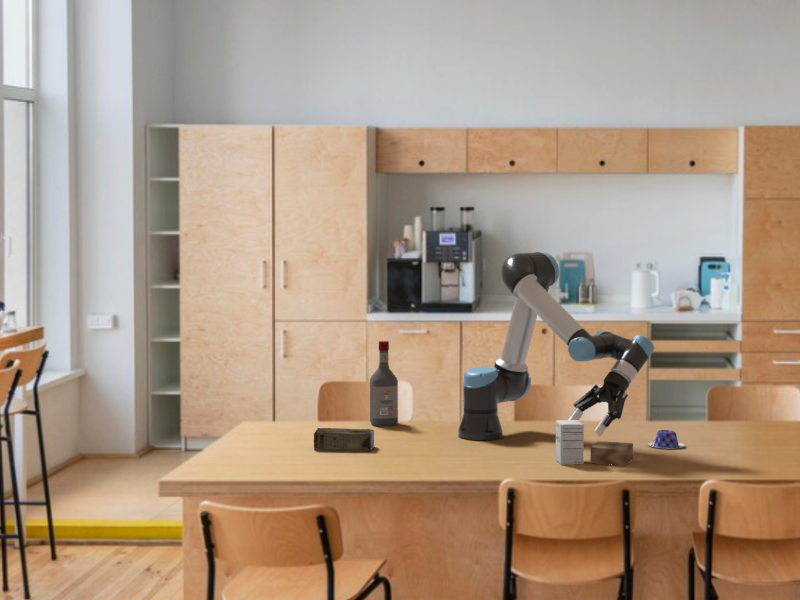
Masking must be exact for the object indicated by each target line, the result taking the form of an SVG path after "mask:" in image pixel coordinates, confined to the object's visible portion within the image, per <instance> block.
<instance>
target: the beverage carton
mask: <svg viewBox="0 0 800 600" xmlns="http://www.w3.org/2000/svg"><path fill="white" fill-rule="evenodd" d="M374 447H375V430H374V429H372V428H361V429H360V428H336V427H332V428H331V427H317V429H316V430H315V431H314V433H313V450H314V451H338V452H339V451H341V452H344V451H346V452H347V451H349V452H350V451H351V452H372V450H373V449H374Z"/></svg>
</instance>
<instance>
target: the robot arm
mask: <svg viewBox="0 0 800 600" xmlns="http://www.w3.org/2000/svg"><path fill="white" fill-rule="evenodd" d="M500 273H501V275H500V276H501V279H502V282H503V284H504V286H505V287H506V289H508V290H509V292H510V293H511V294H512V295H513V296H514V297H515V300H514V302H513V303H514V304H513V308H512V312H511V315H510V320H509V324H508V329H507V332H506V337H505V340H504V344H503V348H502V352H501V356H500V357H498V358H496V359H495V361H494V366H490V365H489V366H488V365H487V366H486V365H481V366H475V367H471V368H468V369H467V370H465V371H464V374H463V381H462V384H463V385H462V389H463V391H462V392H463V393H462V395H463V397H462V398H463V400H462V401H463V403H462V404H463V406H462V407H463V411H462V412H463V414H462V417H461V421H460V423H459V425H458V431H457V433H458V437H459V438H461V439H464V440H470V441H471V440H472V441H473V440H474V441H491V440H499V439H501V438H503V433H504V432H503V427H502V424H501V421H500V419H499V415H498V414H499V413H498V404H500V403H506V402H514V401H517V400H521V399H522V398H524V397H526V395H527V394H528V393H529V391H530V388H531V384H532V379H531V377H530V372H529V367H528V365H527V357H528V353H529V349H530V345H531V341H532V338H533V333H534V330H535V325H536V321H537V319H538V318H537V317H539V318H540V319H541V320H542V322H544V323H545V324H546V325H547V326H548V327H549V328H550V329H551V331H553V332H554V333H555V334H556V335H557V336H558V337H559V338H560V339H561V341H563V342H564V343H565V344H566V345H567V352H568V354H569V356H570V357H569V358H571V359H572V360H573V361H574V362H590V361H594V360H602V359H607V358H610V359H613V360H616V362H615V363H614V365H613V366H612V367H611V369H610V371H609V372H608V373H607V375H606V376H605V378H604V379H603V385H602V386H598V384H595V385H593V386H592V388H591V389H590V390H588V391H587V392H586V393H584V394H583V395H582V396H581V397H580V398H579V399H577V400H576V401H575V402H574V403H573V407H574V408H575V409H574V411H572V413H571V414H570V417H569V418H568V420H578V421H580V419H581V417H582V416H583V415H584V413H583V412H585V411H586V410H588V409H590V408H591V407H594V405H597V404H598V403H599V404H601V403H607V412H606V414H605V415H604V416H603V417H602V419H601V420H600V422H599V423H598V425H597V426H596V427H595V429H594V430H593V431H594V433H596V434H597V436H598V437H599V438H600V437H601V436H603V434H604V432H605V431H606V429H607V428H609V426H610V425H611V424H612V422H613V421H614V420H616V419H618V420H620V419H621V418H622V414H623V410H624V406H625V402H626V400H627V398H628V396H629V395H628V393H627V392H626V391H627V390H628V388H629V387H630V384H631V383H633V381H634V379H635V378H636V376H637V375H638V374H639V372H640V370H642V368H643V367H644V365H645V364H646V363H647V361H648V360H649V359H650V357H651V355H652V354H653V352H654V351H655V345H654V343H653V342H652V340H650V339H649V338H648V337H647V336H645V335H642V334H636V335H634V337H633V338H632V339H630V338H626V337H624V336H621V335H618V334H616V333H613V332H611V331H606V330H603V329H601V330H597V331H596V332H595V333H594V334H593V335H591V334H590V333H589V332H588V331H587V330H586V329H585V328H584V327H583V326H582V325H581V324H580V323H579V322H578V321H577V320H576V319H575V318H574V317H573V316H572V315H571V314H570V313H569V312H568V311H567V310H566V309H565V308H564V307H563V306H562V305H561V304H560V303H559V302H558V300H556V299H555V298H554V297H553V296H552V295H551V294H550V293H549V290H550V289H549V288H550V287H552V286H553V285H554V284H556V283H557V282H558V280H559V276H560V268H559V264H558V263H557V260H556V259H555V257H554V256H552V255H551V254H549V253H547V252H541V251H535V252H525V253H524V252H520V253H513V254H511V255H510V256H508V257H507V258H506V259H505V260H504V261H503V264H502V266H501V270H500Z"/></svg>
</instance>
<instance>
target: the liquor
mask: <svg viewBox="0 0 800 600" xmlns="http://www.w3.org/2000/svg"><path fill="white" fill-rule="evenodd" d="M389 343H390V342H389V340H381V341H378V351H379V353H378V354H379V355H378V357H379V358H378V359H379V360H378V367H377V369H376V371H374V372H373V374H372V375H371V376H370V379H369V416H370V417H369V422H370V424H371V425H373V426H374V427H378V428H379V427H394V426H397V424H398V423H399V409H398V408H399V401H398V400H399V397H398V396H399V389H398V388H399V383H398V378H397V377H396V375H395V374H394V372H393V371H392V370H391V369H390V366H389V349H390V347H389V346H390V345H389Z"/></svg>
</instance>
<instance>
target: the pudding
mask: <svg viewBox="0 0 800 600" xmlns="http://www.w3.org/2000/svg"><path fill="white" fill-rule="evenodd" d="M652 444H654V445H653V446H656V447H653V446H651V445H652ZM647 445H648V446H649V447H652V448H657V449H666V450H668V449H669V450H674V449H677V448H678V447H679V446H680V447H679V448H678V449H681V448H684V447H686V444H685V443H681V442H679V441H678V437H677V433H676V432H675V431H674V430H672V429H671V430H670V429H660V430H657V433H656V436H655V439H654V441H651V442H648V443H647Z"/></svg>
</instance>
